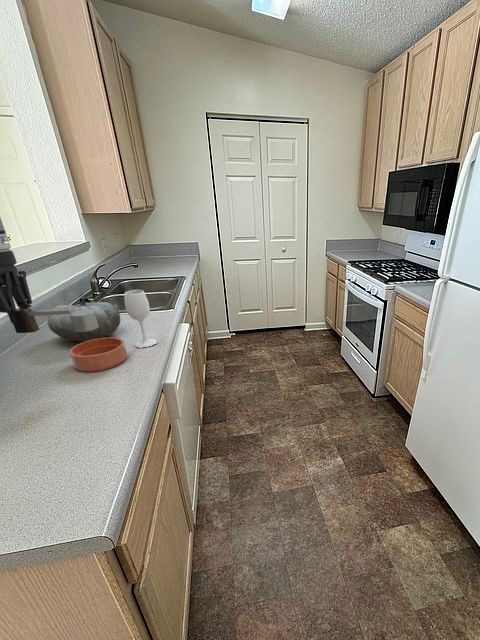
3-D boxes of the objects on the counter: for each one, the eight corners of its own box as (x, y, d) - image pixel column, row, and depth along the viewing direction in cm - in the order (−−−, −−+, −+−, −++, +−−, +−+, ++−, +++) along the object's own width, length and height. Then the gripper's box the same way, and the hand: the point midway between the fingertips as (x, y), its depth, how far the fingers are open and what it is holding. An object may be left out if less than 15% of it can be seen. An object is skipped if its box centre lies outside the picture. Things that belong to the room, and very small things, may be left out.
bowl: (64, 372, 111) (58, 356, 108) (92, 352, 126) (87, 337, 123) (113, 372, 111) (108, 356, 108) (135, 351, 126) (132, 337, 123)
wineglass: (134, 349, 127) (120, 296, 118) (134, 341, 134) (121, 290, 125) (158, 345, 130) (147, 293, 121) (157, 338, 138) (146, 288, 128)
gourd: (93, 346, 124) (76, 300, 119) (40, 351, 130) (22, 308, 124) (136, 329, 147) (123, 290, 142) (90, 334, 153) (76, 297, 147)
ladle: (102, 324, 104) (95, 302, 101) (91, 331, 99) (84, 309, 96) (28, 328, 104) (18, 306, 101) (12, 335, 99) (2, 313, 96)
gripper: (-15, 255, 84) (19, 340, 95) (28, 247, 98) (54, 322, 109) (-45, 255, 84) (-8, 340, 94) (3, 247, 98) (31, 322, 108)
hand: (25, 330), depth 101 cm, fingers closed on ladle, 2 cm apart
